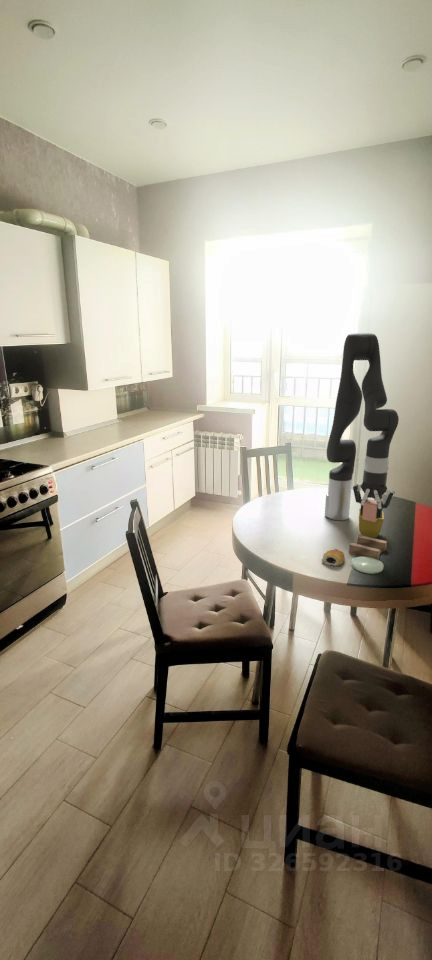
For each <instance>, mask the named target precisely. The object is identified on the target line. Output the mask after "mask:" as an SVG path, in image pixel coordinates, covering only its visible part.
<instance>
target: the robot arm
mask: <svg viewBox="0 0 432 960" xmlns="http://www.w3.org/2000/svg"><path fill="white" fill-rule="evenodd" d="M355 361H368V365H369V366H368V370H367V372H366V373H365V375H364V377H363V379H362V382H361V387H360V385H359V383H358V381H357V379H356V376H355V373H354V363H355ZM387 401H388V398H387V393H386V390H385V385H384V381H383V375H382V362H381V352H380V344H379V340H378V336H377V335H376V334H374V333H372V332H371V333H370V332H367V333H365V332H363V333H362V332H361V333H360V332H358V333H349V334H348V335H347V336H346V338H345V340H344V344H343V352H342V362H341V373H340V379H339V385H338V389H337V395H336V400H335V406H334V407H335V408H334V415H333V421H332V426H331V431H330V433H329V439H328V441H327V446H326V459H327V461H328V462H330V463H339V464H340V463H341V464H340V465H338V466H336V467H334V468H332V469H331V470H329V473H328V487H327V489H328V491H327V494H326V495H325V504H324V505H325V507H324V517H327V518H328V519H330V520H334V521H346V520H348V519H349V518H350V511H351V510H350V506H351V495H352V490H353V494H354V498H355V502H356V503H357V504H360V509H361V510H360V513H362V515H363V504H364V502H366V500H368V499H369V498H371V499H375V501H376V502H377V505H378V509H377V516H376V518H377V519H379V518H380V517H381V516H382V511H383V509H387V508H388V507H389V506H390V504H391V503H392V500H393V498H394V496H395V493H396V492H395V491H394V490H390V489H388V487H387V480H388V471H389V456H390V445H391V442H392V440H393V438H394V435H395V432H396V430H397V429H398V428H397V427H398V425H399V414H398V412H397V411H396V409H391V408H390V409H389V408H388V409H387V408H385V409H384V408H383V407H384V406H385V405H386V404H387V403H388V402H387ZM362 402H364V415H363V426H364V427H365V429H366V430H367V431H369V432H380V434H379V435H377V436H373V437H370V438H369V439H367V444H366V453H365V459H364V463H363V464H364V466H363V474H362V475H363V476H362V483H361V484H355V485H354V486H353V487H352V484H353V483H352V482H353V474H354V469H355V462H356V456H357V455H356V454H357V446H356V443H355V441H354V440H353V439H342V438H343V437H342V436H343V434H344V432H345V431H346V429H347V428H348V427H349V426H350V425H351V424H352V423H353V422H354V421H355V419H356V418H357V417H358V415H359V413H360V411H361V408H362V407H361V405H362ZM381 408H382V409H381ZM361 490H362V492H363V493H364V495H363V497H362V495H361ZM384 494H385V495H386V500H385V502H384V498H383V495H384ZM383 512H384V511H383Z"/></svg>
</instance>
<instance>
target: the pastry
mask: <svg viewBox="0 0 432 960" xmlns="http://www.w3.org/2000/svg"><path fill="white" fill-rule="evenodd" d="M321 561H322V563H323V564H325V565H328V566H334V567H340V566H342V565H343V563H344V561H345V554H344V552H343V551H342V550H339V549H330V550H327V551H326V552H325V553H323V555H322V559H321Z"/></svg>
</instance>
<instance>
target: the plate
mask: <svg viewBox="0 0 432 960" xmlns="http://www.w3.org/2000/svg"><path fill="white" fill-rule="evenodd" d="M351 567H352V568H353V569H355V571H358V572H359V573H364V574H370V575H372V574H373V575H375V574H379V573H381V572H383V571H384V563H383V562H382V561H380V560H379V559H378V560H377V559H375V558H372V557H364V556H357V557H356V556H355V557H354V558H352V560H351Z"/></svg>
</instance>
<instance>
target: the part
mask: <svg viewBox="0 0 432 960" xmlns="http://www.w3.org/2000/svg"><path fill="white" fill-rule="evenodd" d="M377 509H378V505H377V502H376V500H373V499H369V498H368V500H366V502H364V504H363V515H362V519H364V520H368V521H373V522H375V521H376V520H377V518H376V516H377Z"/></svg>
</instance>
